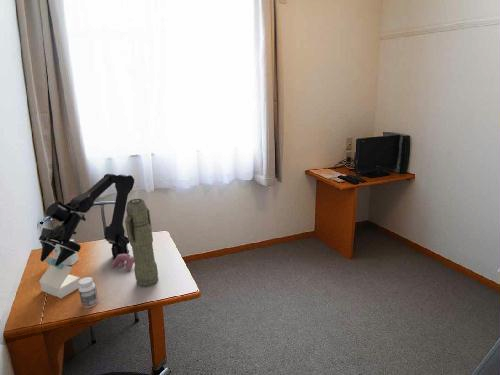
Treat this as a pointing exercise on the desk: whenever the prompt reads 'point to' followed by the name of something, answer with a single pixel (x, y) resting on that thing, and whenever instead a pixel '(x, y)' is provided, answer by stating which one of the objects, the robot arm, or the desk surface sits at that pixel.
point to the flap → (55, 273)
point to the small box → (68, 261)
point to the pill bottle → (88, 292)
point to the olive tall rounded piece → (141, 242)
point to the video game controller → (121, 261)
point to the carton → (63, 287)
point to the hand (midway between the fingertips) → (48, 263)
